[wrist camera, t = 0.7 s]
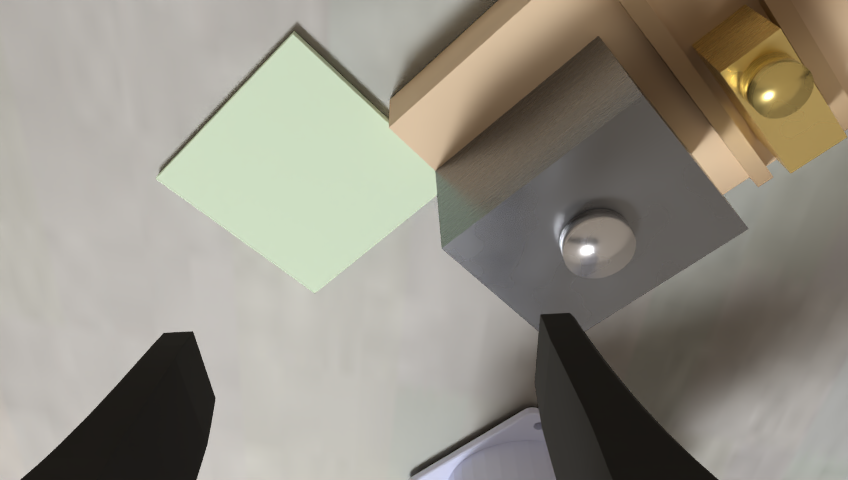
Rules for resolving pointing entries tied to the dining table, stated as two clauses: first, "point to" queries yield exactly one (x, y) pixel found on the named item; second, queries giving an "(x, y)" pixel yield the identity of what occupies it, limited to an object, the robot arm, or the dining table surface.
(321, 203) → the mat
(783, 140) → the bolt
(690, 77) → the wooden tray with rails
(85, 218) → the dining table surface
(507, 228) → the metal box with knob
